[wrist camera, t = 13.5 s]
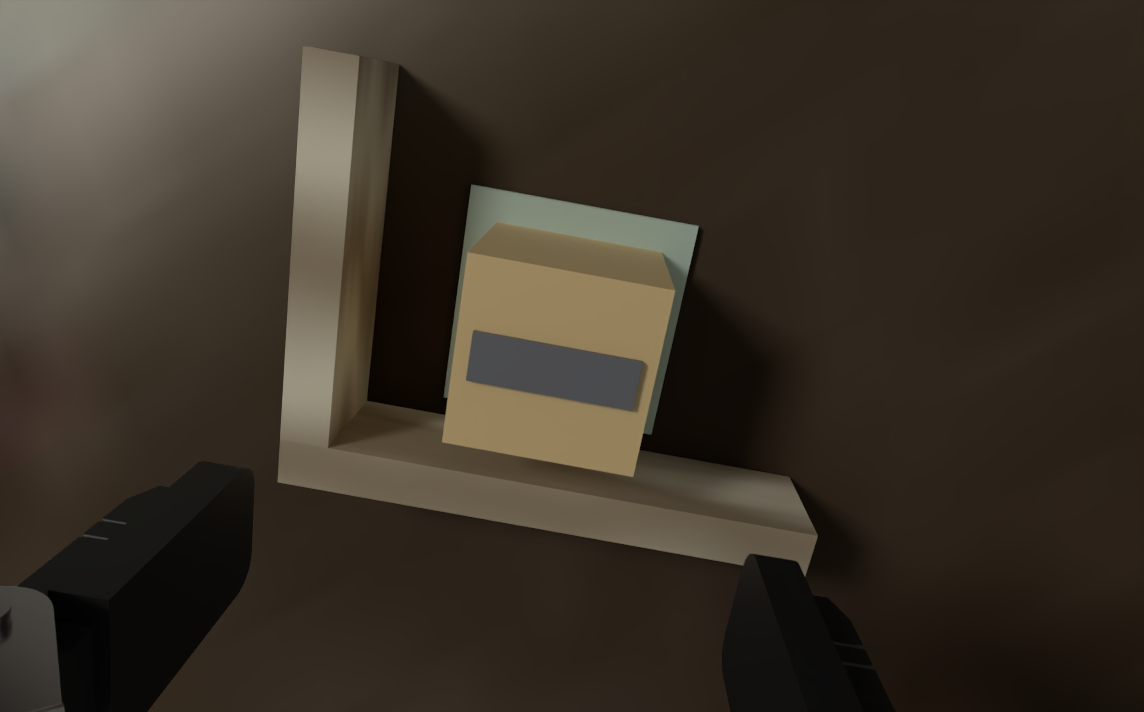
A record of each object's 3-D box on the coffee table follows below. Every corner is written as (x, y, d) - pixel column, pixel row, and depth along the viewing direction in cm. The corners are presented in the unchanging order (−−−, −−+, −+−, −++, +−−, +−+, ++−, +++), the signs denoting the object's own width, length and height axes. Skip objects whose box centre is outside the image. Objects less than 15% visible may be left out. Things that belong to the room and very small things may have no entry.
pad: (651, 432, 27) (651, 434, 27) (444, 395, 27) (443, 397, 27) (697, 225, 25) (698, 226, 25) (472, 184, 25) (471, 185, 25)
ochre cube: (661, 252, 25) (675, 292, 20) (628, 404, 27) (633, 480, 21) (497, 221, 25) (465, 253, 20) (474, 376, 27) (440, 445, 21)
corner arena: (778, 512, 28) (805, 576, 24) (322, 431, 28) (277, 482, 24) (884, 153, 24) (936, 162, 20) (351, 55, 24) (302, 45, 20)
